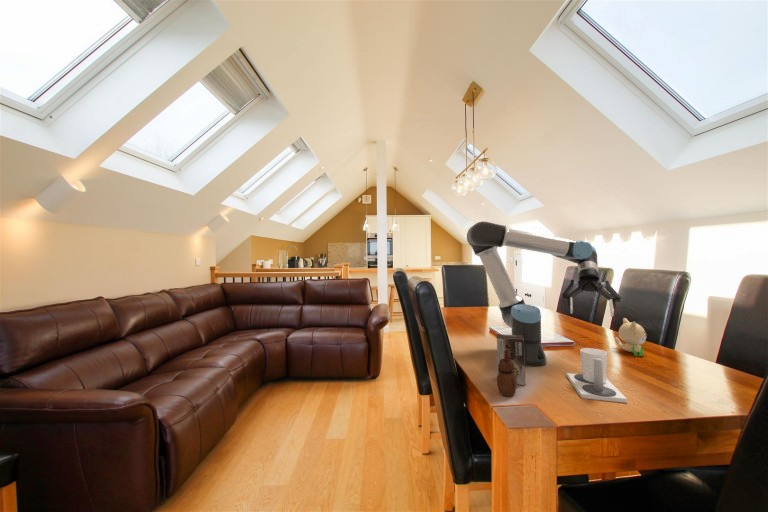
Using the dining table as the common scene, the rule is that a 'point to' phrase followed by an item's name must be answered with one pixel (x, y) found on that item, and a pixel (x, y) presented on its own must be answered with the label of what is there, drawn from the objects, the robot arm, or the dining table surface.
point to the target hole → (581, 378)
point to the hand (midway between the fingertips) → (591, 313)
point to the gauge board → (590, 396)
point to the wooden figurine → (506, 377)
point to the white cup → (592, 363)
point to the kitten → (631, 337)
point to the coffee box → (512, 354)
